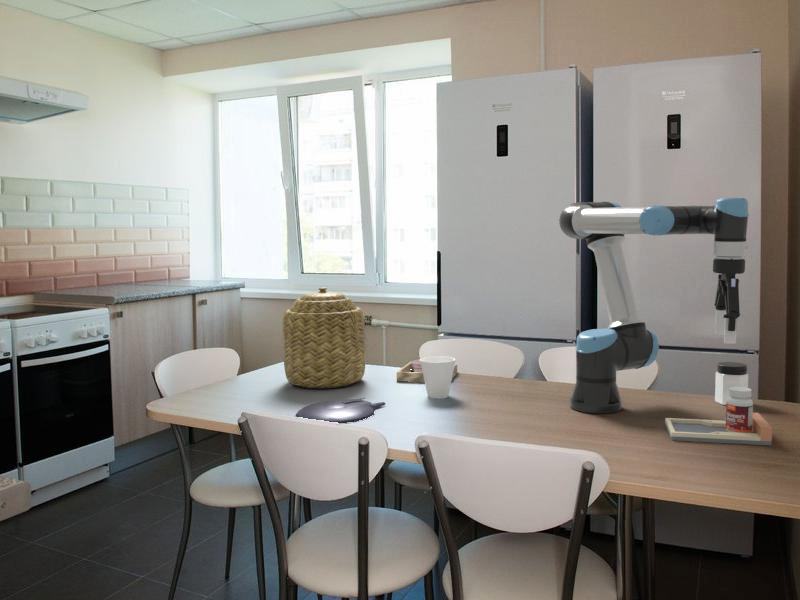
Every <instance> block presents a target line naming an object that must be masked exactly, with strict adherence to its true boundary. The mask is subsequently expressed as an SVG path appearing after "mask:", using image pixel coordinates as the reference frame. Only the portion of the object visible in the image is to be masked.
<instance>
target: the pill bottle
mask: <svg viewBox="0 0 800 600" xmlns="http://www.w3.org/2000/svg"><path fill="white" fill-rule="evenodd" d="M729 395H730V396H731V397H729V398H728V399H727V403H726V405H725V406H726V410H725V421H726V431H727V432H737V433H752V422H753V413H754V401H753V400H752V398H751V397H752V389H751V388H749V387H748V388H745V387H730V388H729Z"/></svg>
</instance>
